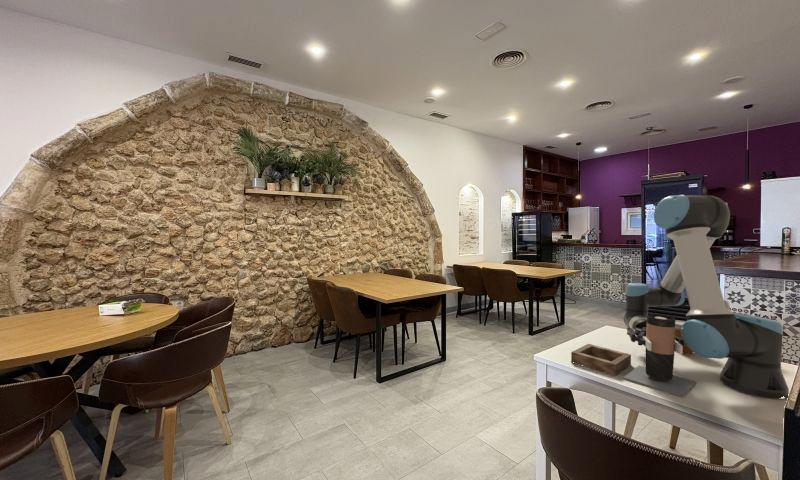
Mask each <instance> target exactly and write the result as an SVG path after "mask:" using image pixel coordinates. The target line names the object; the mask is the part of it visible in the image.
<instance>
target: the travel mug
mask: <svg viewBox="0 0 800 480" xmlns="http://www.w3.org/2000/svg"><path fill="white" fill-rule="evenodd" d="M675 320H676V318H675V317H673V316H671V315H666V314H658V313H650V314H648V315H647V328H646V338H647V339H648V340H649V341H650V342H651V343H652V346H651V351H648V349H647V348H646V347H645V367H646V374H647V375H648V376H650V377H653V378H656V379H660V380H672V377H673V375H674V363H675V362H674V361H675V352H676V351H675Z"/></svg>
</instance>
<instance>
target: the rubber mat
mask: <svg viewBox="0 0 800 480" xmlns="http://www.w3.org/2000/svg"><path fill="white" fill-rule="evenodd" d="M622 379H623V380H625V381H628V382H632V383H635V384H637V385H640V386H644V387H647V388H651V389H654V390H656V391H659V392H664V393H667V394H669V395H673V396H677V397H680V398H683V399H685V397H686V396H687V395H688V393H690V391H691V390H692V389H693V387H695V385H696V384H697V380H694V379H690V378H686V377H683V376H679V375H676V374H673V377H672V380H660V379H656V378H653V377H650V376H648V375H647V374H646V366H643V365H638V366H636V367H635V368H634V369H633V370H631V371H629V372H628V373H627V374H626V375H625V376H623V378H622Z"/></svg>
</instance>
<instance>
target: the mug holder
mask: <svg viewBox="0 0 800 480" xmlns="http://www.w3.org/2000/svg"><path fill="white" fill-rule="evenodd" d="M570 356H571V359H570V360H571V361H570V363H572V362H574V363H573V364H575V363H577V364H576V365H578V364H580V365H579V366H581V365H583V366H582V367H584V366H586V367H585V368H588V367H589V368H588V369H591V368H592V370H595V371H597V372H601V373H604V374H607V375H611V376H614V377H616V376H618V375H620V373H622V372H623V371H625V370H626V369H627V368H629V367H630V366H631V365H632V354H631V353H630V354H629V353H626V352H622V351H618V350H614V349H611V348H607V347H603V346H599V345H595V344H591V343H587V344H586V345H585V344H584V345H583V346H581V347H579V348H576V349H574V350H573V351H571V352H570Z"/></svg>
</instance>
